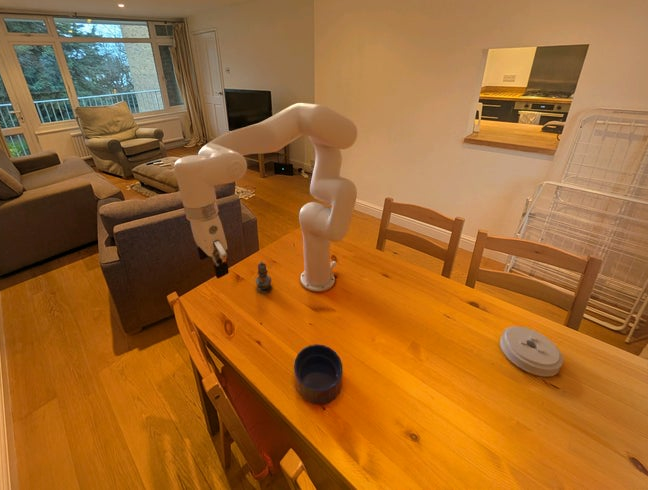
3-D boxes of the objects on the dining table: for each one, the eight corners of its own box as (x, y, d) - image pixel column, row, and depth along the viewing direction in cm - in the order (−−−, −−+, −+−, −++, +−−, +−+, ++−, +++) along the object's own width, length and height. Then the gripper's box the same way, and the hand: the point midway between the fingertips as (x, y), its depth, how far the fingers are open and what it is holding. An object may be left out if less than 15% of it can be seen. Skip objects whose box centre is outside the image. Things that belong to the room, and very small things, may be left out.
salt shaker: (270, 294, 104) (267, 267, 99) (254, 293, 105) (250, 266, 100) (274, 283, 109) (271, 257, 104) (259, 281, 111) (255, 255, 106)
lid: (556, 389, 70) (563, 376, 68) (494, 357, 78) (498, 345, 76) (560, 352, 79) (566, 339, 77) (503, 327, 87) (507, 315, 85)
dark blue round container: (315, 351, 83) (314, 336, 81) (351, 379, 75) (352, 364, 73) (285, 382, 76) (284, 367, 73) (322, 418, 68) (322, 402, 65)
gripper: (233, 215, 65) (243, 275, 72) (201, 192, 77) (212, 245, 84) (201, 228, 60) (215, 291, 67) (172, 201, 73) (187, 257, 80)
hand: (213, 266), depth 76 cm, fingers open, 9 cm apart
